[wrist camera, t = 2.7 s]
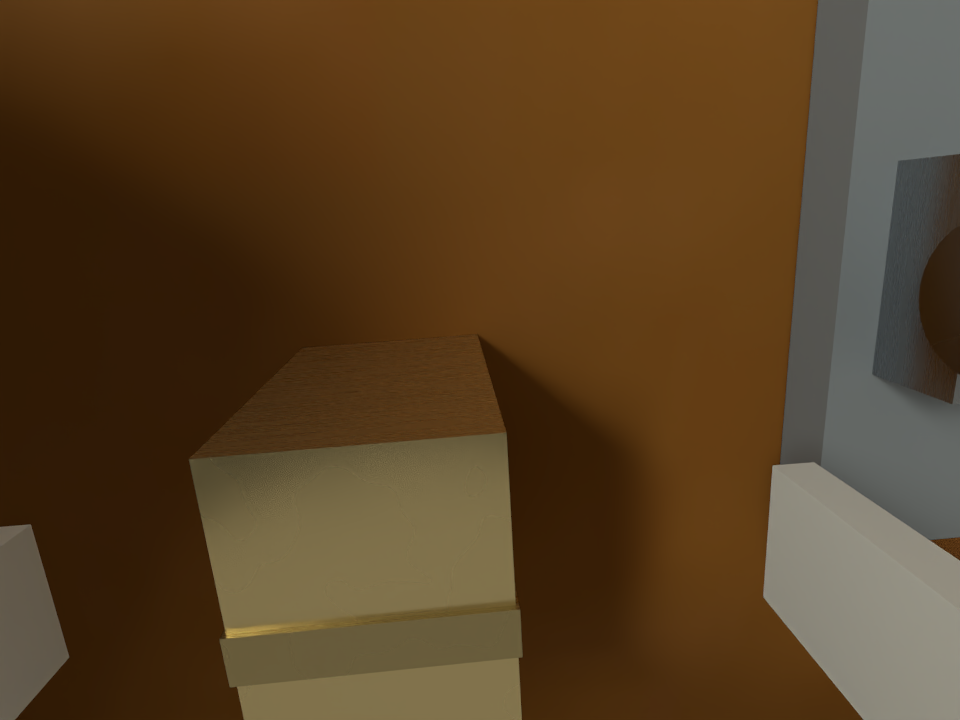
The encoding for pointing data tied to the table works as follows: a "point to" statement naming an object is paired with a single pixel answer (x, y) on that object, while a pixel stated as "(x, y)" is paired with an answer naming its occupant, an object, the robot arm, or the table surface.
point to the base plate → (870, 256)
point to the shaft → (923, 281)
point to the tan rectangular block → (366, 537)
